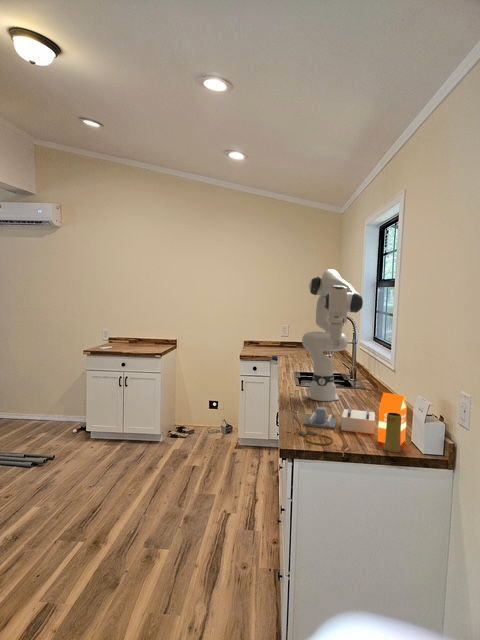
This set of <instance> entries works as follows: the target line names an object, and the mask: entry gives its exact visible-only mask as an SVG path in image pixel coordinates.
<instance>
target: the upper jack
mask: <svg viewBox="0 0 480 640" xmlns="http://www.w3.org/2000/svg"><path fill="white" fill-rule="evenodd" d="M375 413H376V412H375V411H370V407H366V410H358V409H352V405H349V406H348V408H344V409H343V412H342V415H341V424H340V425H341V427H340V428H341V431H347V432H354V433H362V434H370V435H375V424H376V422H375V421H376V420H375V419H376V417H375V416H376V414H375Z"/></svg>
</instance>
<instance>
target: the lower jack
mask: <svg viewBox="0 0 480 640" xmlns="http://www.w3.org/2000/svg"><path fill="white" fill-rule="evenodd" d="M337 423H338V417H337V418H336V417H333V415H332V414H329V415H328V417H327V416H326V421H325V423H324V422H316V412H314V411H313V412H312V414H311V415H307V416H306V419H305V421H304V422H303V426H305V427H311V428H314V427H315V428H322V429H330V430H335V429H336V427H337Z"/></svg>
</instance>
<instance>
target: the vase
mask: <svg viewBox="0 0 480 640" xmlns="http://www.w3.org/2000/svg"><path fill="white" fill-rule="evenodd" d="M401 446H402V444H401V414H399V413H394V412H389V413H387V425H386V437H385V443H384V447H383V448H384V450H385V451H387V452H390V453H399V452H401V451H402V449H401Z"/></svg>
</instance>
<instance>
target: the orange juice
mask: <svg viewBox="0 0 480 640" xmlns="http://www.w3.org/2000/svg"><path fill="white" fill-rule="evenodd" d="M407 409H408V407H407V404H406V397H405V395H402V394H401V395H400V394H393V393H389V392H384V391H383V394H382V397H381V401H380V404H379V410H378V412H379V413H378V429H377V430H378V431H377V432H378V433H377V434H378V436H377V442H379V443H384V444H385V437H386V425H387V413H389V412H394V413H399V414H401V445H403V444H404V443H405V442H406V433H407V432H406V430H407V411H408V410H407ZM404 441H405V442H404ZM403 442H404V443H403ZM402 443H403V444H402Z"/></svg>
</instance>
